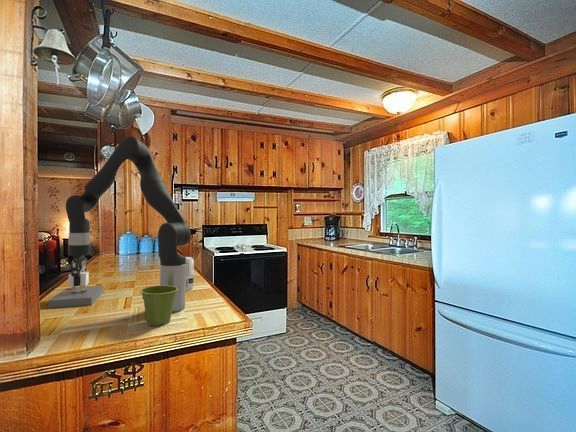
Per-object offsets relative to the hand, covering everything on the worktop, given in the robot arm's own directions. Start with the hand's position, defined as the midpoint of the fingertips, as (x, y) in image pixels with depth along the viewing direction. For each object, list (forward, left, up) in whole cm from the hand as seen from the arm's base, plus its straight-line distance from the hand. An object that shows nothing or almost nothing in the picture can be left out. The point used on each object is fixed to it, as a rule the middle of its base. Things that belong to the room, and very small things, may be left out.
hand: (78, 284), depth 126 cm
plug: (0, 0, -2) cm, 2 cm away
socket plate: (0, 0, -6) cm, 6 cm away
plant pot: (-37, -33, -7) cm, 50 cm away
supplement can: (+7, -42, -7) cm, 43 cm away
